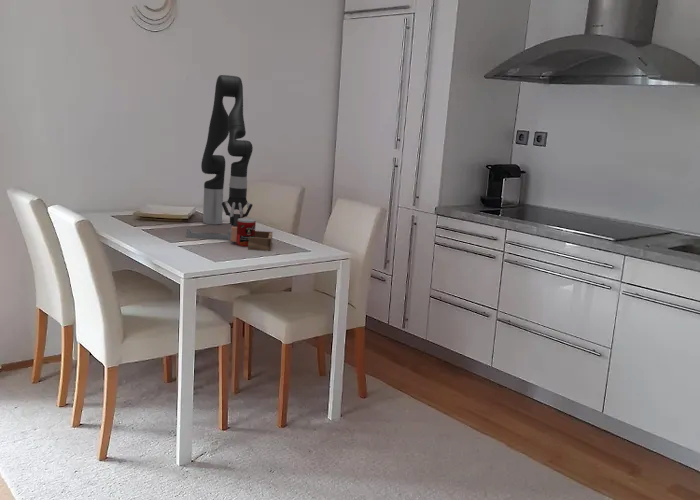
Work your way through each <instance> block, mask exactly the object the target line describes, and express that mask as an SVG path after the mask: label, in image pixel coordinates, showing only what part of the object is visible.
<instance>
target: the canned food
mask: <svg viewBox="0 0 700 500" xmlns="http://www.w3.org/2000/svg"><path fill="white" fill-rule="evenodd" d="M256 223H257V222H256V219H254V218H251V217H250V218H249V217H244V218H239V219H238V222H237V242H236V244H237V246H239V247H243V248H244V247H245V248H246V247H247V248H248V241H249V237H255V231H256Z"/></svg>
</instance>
